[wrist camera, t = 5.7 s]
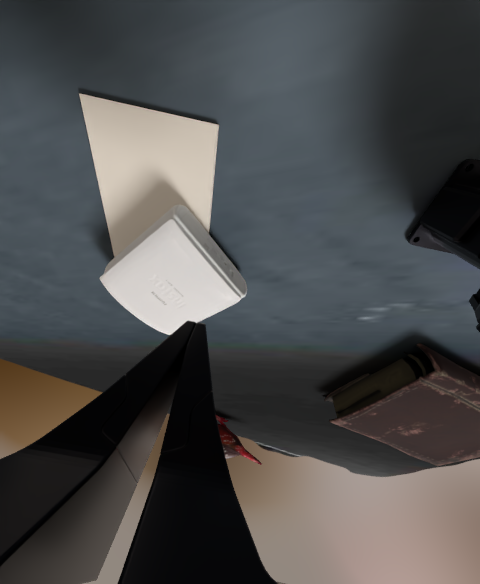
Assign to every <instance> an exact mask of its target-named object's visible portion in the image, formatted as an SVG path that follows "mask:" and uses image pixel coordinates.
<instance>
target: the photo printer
mask: <svg viewBox="0 0 480 584" xmlns="http://www.w3.org/2000/svg"><path fill="white" fill-rule="evenodd" d="M100 280H101V282H102V283H103V285H104V286H105V288H106V289H107V290H108V291H109V293H110V294H111V295H112V296H113V297H114V298H115V299H116V300H117V301H118V302H119V303H120V304H121V305H122V306H123V307H125V308H126V309H127V310H128V311H129V312H131V313H132V314H133V315H134V316H136V317H137V318H138V319H140V320H141V321H143V322H144V323H146V324H147V325H149V326H151V327H152V328H154V329H156V330H158V331H160V332H162V333H165V334H168V335H171V334H172V333H173V332H175V331H176V330H177V329H178V328H179V327H180V326H182V325H183V324H184V323H185V322H186V321H193V322H196V323H197V322H199V321H201V320H203V319H205V318H207V317H210V316H212V315H214V314H216V313H218V312H220V311H222V310H224V309H226V308H228V307H230V306H232V305H233V304H235V303H237V302H239V301H240V300H241V298H243V297H245V296H246V294H247V285H246V281H245V280H244V279H243V277H242V276H241V274H240V273H239V271H238V270H237V269H236V267H235V266H234V265H233V264H232V262H231V261H230V260H229V259H228V257H227V256H226V255H225V254H224V253H223V251H222V250H221V249H220V248H219V246H218V245H217V244H216V242H215V241H214V240H213V239H212V237H211V236H210V235H209V234H208V232H207V231H206V230H205V229H204V227H203V226H202V225H201V224H200V222H199V221H198V220H197V219H196V218H195V216H194V215H193V214H192V213H191V212H190V211H189V210H188V209H187V207H185V206H183V205H175V206H173V207H172V208H171V209H170V210H169V211H168V212H166V213H165V214H164V215H163V216H162V217H161V218H159V219H158V220H157V221H156V222H155V223H154V224H153V225H151V226H150V227H149V228H148V229H147V230H146V231H145V232H143V233H142V234H141V235H140V236H139V237H138V238H136V239H135V240H134V241H133V242H132V243H131V244H130V245H128V246H127V247H126V248H125V249H124V250H123V251H122V252H121V253H119V254H118V255H117V256H116V257H115V258H114V259H112V260H111V261H110V262H109V264H108V265H107V267H106V269H105V272H104V274H103V275H102V276H101V277H100Z"/></svg>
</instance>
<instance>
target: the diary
mask: <svg viewBox="0 0 480 584" xmlns="http://www.w3.org/2000/svg"><path fill="white" fill-rule="evenodd" d="M416 346H417V347H419V348H420V349H421V350H422V351H424V353H425V354H426V355H427V357H428V358H429V359H430V361H431V363H432V365H433V366H432V365H431V364H429V363H427V362H425V361H423V360H421V359H419V358H417V357H415V356H413V355H412V354H407V353H406V352H404V353H405V354H407V355H408V356H409V357H411V358H412V359H414V360H415V361H416V362H417V363H418V365H419V366H420V367H421V368H420V367H418V366H416V365H414V364H412V363H410V362H408V361H406V360H404V359H402V358H401V359H400V360H398V361H396V362H394V363H392V364H390V365H389V366H387V367H385V368H383V369H381V370H379V371H378V372H376V373H374V374H372V375H370V374H368V373H366V374H364V375H362V376H360V377H359V378H357V379H355V380H353V381H351V382H349V383H348V384H346V385H344V386H342V387H340V388H338V389H337V390H335V391H333V392H332V393H330V394H329V395H327V397H326V398H325V400H324V401H330V402H333V403H334V407H335V410H336V414H337V418H336V419H332V420H329V421H330V422H331V423H334V424H336V425H339V426H342V427H344V428H347V429H349V430H352V431H355V432H357V433H360V434H363V435H365V436H368V437H370V438H373V439H376V440H378V441H381V442H383V443H386V444H388V445H390V446H392V447H394V448H396V449H398V450H400V451H402V452H404V453H406V454H408V455H411V456H413V457H415V458H418V459H421V460H424V461H426V462H429V463H432V464H434V465H437V466H439V465H443V464H448V463H453V462H458V461H463V460H468V459H472V458H477V457H480V376H478V375H476V374H474V373H472V372H470V371H468V370H467V369H465V368H463V367H461V366H459V365H457V364H455V363H454V362H452V361H450V360H449V359H447V358H445V357H444V356H442V355H440V354H439V353H437V352H435V351H434V350H432V349H430V348H428V347H426V346H424V345H423V344H421V343H419V344H417V345H416Z"/></svg>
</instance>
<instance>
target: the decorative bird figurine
mask: <svg viewBox="0 0 480 584" xmlns="http://www.w3.org/2000/svg"><path fill="white" fill-rule="evenodd" d="M216 419H217V420H218V421H219V422H220V423H221V424H218V428H219V433H220V437H221V441H222V445H223V449H224V454H225V458H231V457H235V456H238V455H242V456H244V457H246V458H248V459H250V460H252V461H254V462H256V463H258V464H260V465H261V462H260V461H259V460H257V459H256V458H255V457H254V456H253V455H251V454H250V453H249V452H248V451H247V450H245V448H244V447H243V446H242V444H241V443H240V441H239V439H238V437H237V436H236V435H234V434H233V433H232V432H231V431H230V430H229V429H228V428H227V427H226V425H225V424H224V423H223V422H227V421H229V420H226V421H225V418H221V417H219V416H217V415H216ZM223 419H224V420H223Z"/></svg>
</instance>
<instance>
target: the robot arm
mask: <svg viewBox="0 0 480 584" xmlns="http://www.w3.org/2000/svg"><path fill="white" fill-rule="evenodd" d="M469 164H470V166H469V168H468V169H467V170H466V171H465V168H466V167H467V166H468V165H469ZM416 237H417V239H416V240H414V241H413V239H414V238H416ZM407 241H408V242H409V243H410V244H412V245H415V246H420V247H424V248H429V249H434V250H438V251H443V252H448V253H452V254H455V255H457V256H459V257H460V258H462V259H463V260H465V261H467V262H468V263H470V264H472V265H473V266H475V267H477V268H478V269H480V161H479V160H473V159H467V160H465V161H463V162H462V163H461V164H460V165H459V166H458V167H457V169H456V170H455V172H454V173H453V174H452V176H451V177H450V179H449V180H448V182H447V183H446V184H445V186H444V187H443V189H442V190H441V191H440V192H439V194H438V195H437V197H436V198H435V199H434V201H433V202H432V204H431V205H430V207H429V208H428V209H427V211H426V212H425V214H424V215H423V216H422V218H421V219H420V221H419V223H418V224H417V225H416V227H415V228H414V230H413V231H412V232H411V234H410V235H409V237H408V239H407ZM469 302H470V304H471V306H472V307H473V309H474V311H475V315H476V318H477V322H478V323H479V324H478V325H477V326H476V328H477V330H478V331H479V332H480V289H479V290H478V292H477V293H476V294H473V295H472V297H471V298H470V300H469ZM172 401H173V403H172ZM171 403H172V407H171V412H170V416H169V420H168V424H167V429H166V433H165V436H164V441H163V445H162V449H161V455H160V457H159V461H158V465H157V469H156V473H155V476H154V479H153V482H152V486H151V488H150V491H149V494H148V497H147V500H146V503H145V506H144V509H143V511H142V515H141V517H140V520H139V523H138V526H137V529H136V532H135V535H134V538H133V541H132V543H131V547H130V549H129V552H128V555H127V558H126V561H125V564H124V567H123V570H122V573H121V576H120V579H119V581H118V584H285V583H280V582H276V581H275V580H273V579H272V578H271V577H270V575H269V574H268V572H267V571H266V570H265V568H264V566H263V564H262V562H261V560H260V557H259V554H258V552H257V549H256V546H255V544H254V541H253V538H252V536H251V533H250V531H249V528H248V525H247V523H246V520H245V518H244V515H243V512H242V510H241V507H240V504H239V502H238V499H237V496H236V494H235V491H234V488H233V484H232V481H231V478H230V474H229V470H228V466H227V462H226V458H225V454H224V449H223V445H222V441H221V437H220V433H219V428H218V424H217V419H216V414H215V407H214V399H213V392H212V381H211V371H210V362H209V353H208V343H207V334H206V325H205V324H203V323H198V322H197V323H196V322H193V321H186V322H185V323H184V324H183V325H182V326H180V327H179V328H178V329H177V330H176V331H175V332H173V333H172V334H171V335H170V336H169V337H168V338H166V339H165V340H164V341H163V342H162V343H161V344H160V345H158V346H157V347H156V348H155V349H154V350H153V351H151V352H150V353H149V354H148V355H147V356H146V357H145V358H143V359H142V360H141V361H140V362H139V363H138V364H136V365H135V366H134V367H133V368H132V369H131V370H129V371H128V372H127V373H126V375H124V376H122V377H121V378H120V379H119V380H118V381H117V382H115V383H114V384H113V385H112V386H111V387H109V388H108V389H107V390H106V391H105V392H103V393H102V394H101V395H99V396H98V397H97V398H96V399H94V400H93V401H91V402H90V403H89V404H87V405H86V406H85V407H83V408H82V409H81V410H79V411H78V412H76V413H75V414H74V415H72V416H71V417H70V418H68V419H67V420H65V421H64V422H63V423H61V424H60V425H59V426H57V427H56V428H54V429H53V430H52V431H50V432H49V433H47V434H46V435H45V436H43V437H42V438H40V439H39V440H37V441H36V442H34V443H32V444H30V445H29V446H27V447H25V448H23V449H21V450H19V451H17V452H16V453H13V454H11V455H9V456H6V457H4V458H2V459H0V584H82V583H86V582H91V581H95V580H97V578H98V575H99V573H100V570H101V568H102V566H103V564H104V561H105V559H106V557H107V554H108V552H109V550H110V547H111V545H112V542H113V540H114V538H115V535H116V533H117V531H118V528H119V526H120V524H121V521H122V519H123V517H124V514H125V512H126V510H127V507H128V505H129V502H130V500H131V498H132V495H133V493H134V491H135V488H136V486H137V483H138V481H139V479H140V476H141V474H142V471H143V469H144V467H145V465H146V462H147V460H148V458H149V455H150V453H151V450H152V448H153V446H154V443H155V441H156V439H157V436H158V434H159V432H160V429H161V427H162V424H163V422H164V420H165V417H166V415H167V413H168V410H169V408H170V406H171Z"/></svg>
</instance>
